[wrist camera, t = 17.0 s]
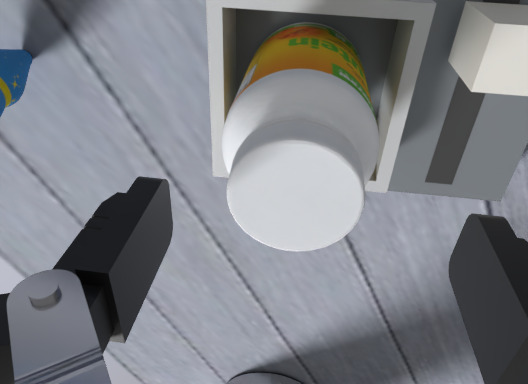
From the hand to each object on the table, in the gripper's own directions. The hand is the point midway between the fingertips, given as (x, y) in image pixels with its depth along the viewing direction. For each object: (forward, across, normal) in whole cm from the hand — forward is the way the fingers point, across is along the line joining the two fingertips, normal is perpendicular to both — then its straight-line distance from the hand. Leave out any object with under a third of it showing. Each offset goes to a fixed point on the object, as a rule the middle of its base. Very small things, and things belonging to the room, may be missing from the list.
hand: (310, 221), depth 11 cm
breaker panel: (+13, -3, 0) cm, 13 cm away
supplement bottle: (+10, 0, 0) cm, 11 cm away
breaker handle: (+10, -7, -3) cm, 13 cm away
